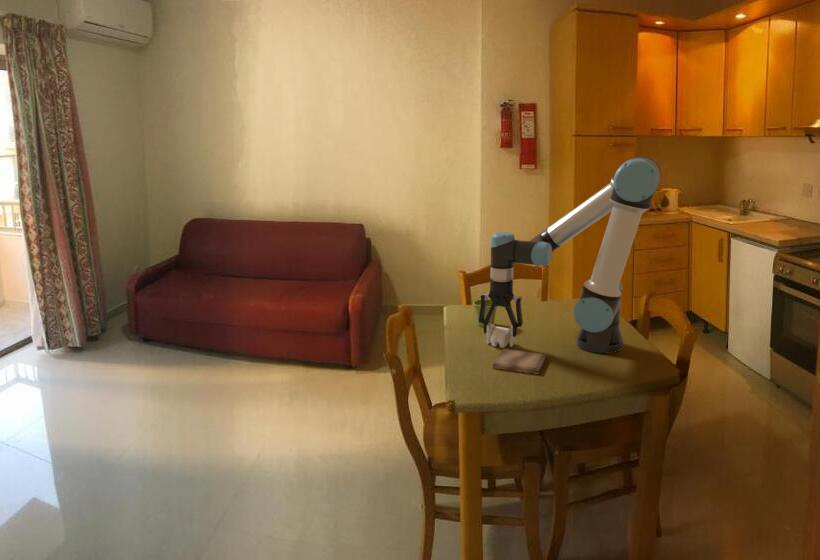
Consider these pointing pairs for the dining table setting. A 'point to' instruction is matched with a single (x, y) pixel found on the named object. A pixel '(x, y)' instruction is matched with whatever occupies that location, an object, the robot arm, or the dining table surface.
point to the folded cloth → (519, 361)
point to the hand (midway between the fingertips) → (500, 343)
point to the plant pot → (477, 308)
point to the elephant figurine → (499, 335)
